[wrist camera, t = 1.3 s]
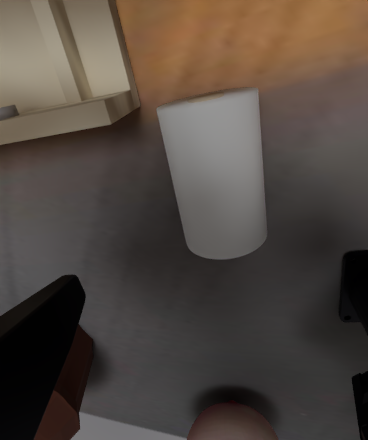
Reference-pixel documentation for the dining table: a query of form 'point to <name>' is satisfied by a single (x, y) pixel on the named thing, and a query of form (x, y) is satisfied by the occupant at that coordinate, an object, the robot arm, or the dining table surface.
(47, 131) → the roll cradle
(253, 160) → the paper roll
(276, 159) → the dining table surface
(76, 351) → the muffin
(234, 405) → the decorative fruit
